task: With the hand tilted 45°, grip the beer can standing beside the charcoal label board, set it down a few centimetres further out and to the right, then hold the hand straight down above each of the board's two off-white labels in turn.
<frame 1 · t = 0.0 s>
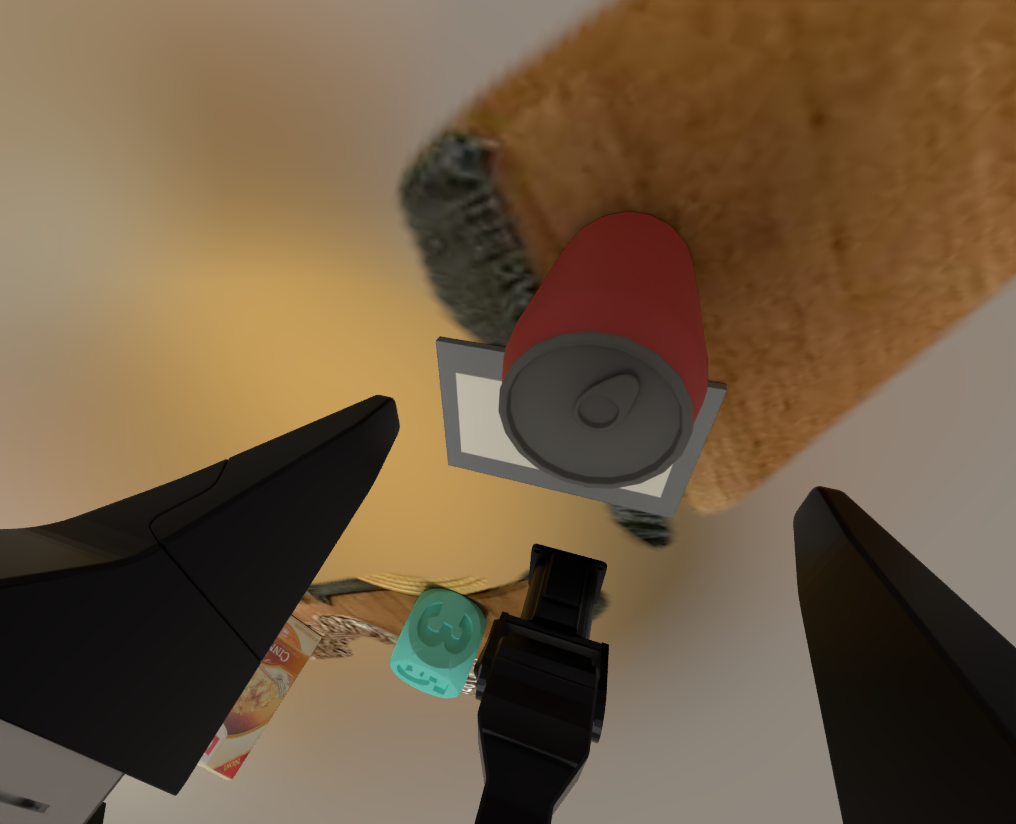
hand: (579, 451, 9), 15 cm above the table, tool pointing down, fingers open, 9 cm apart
beer can: (622, 278, 21), on the table
coffeecake box: (280, 612, 70), on the table
decorative dice: (454, 605, 49), on the table
label board: (562, 429, 28), on the table
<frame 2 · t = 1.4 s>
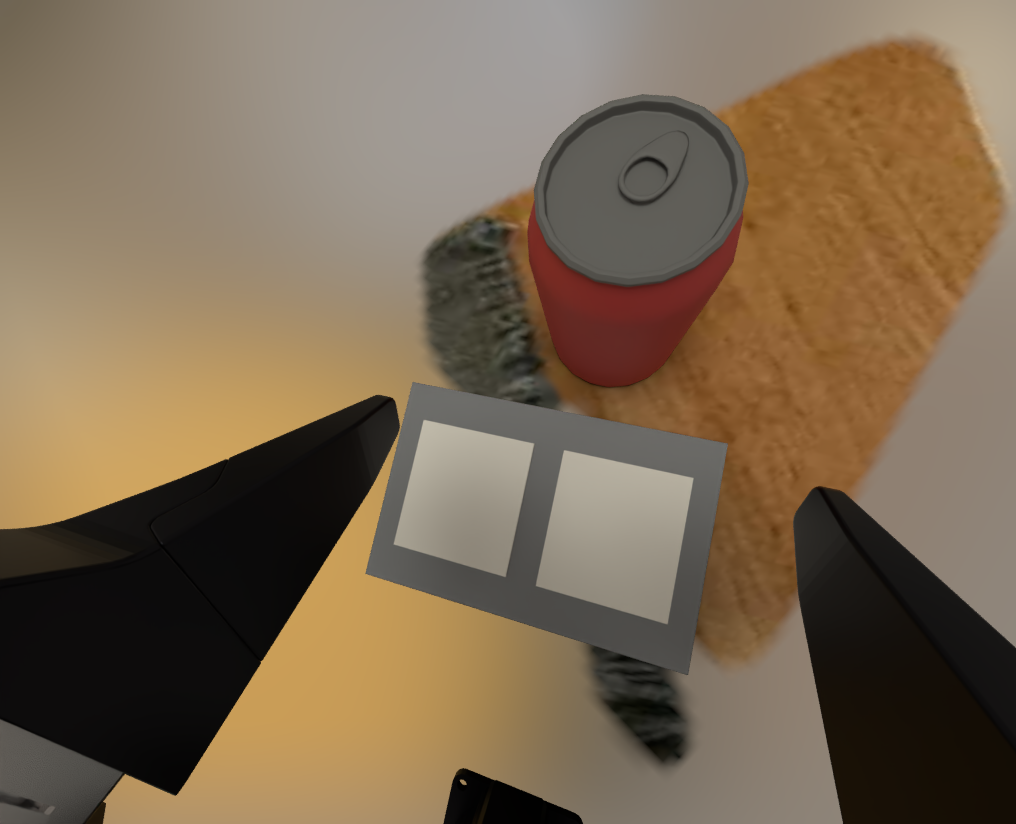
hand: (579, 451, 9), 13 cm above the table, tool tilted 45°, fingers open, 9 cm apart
beer can: (612, 331, 23), on the table
label board: (536, 511, 22), on the table
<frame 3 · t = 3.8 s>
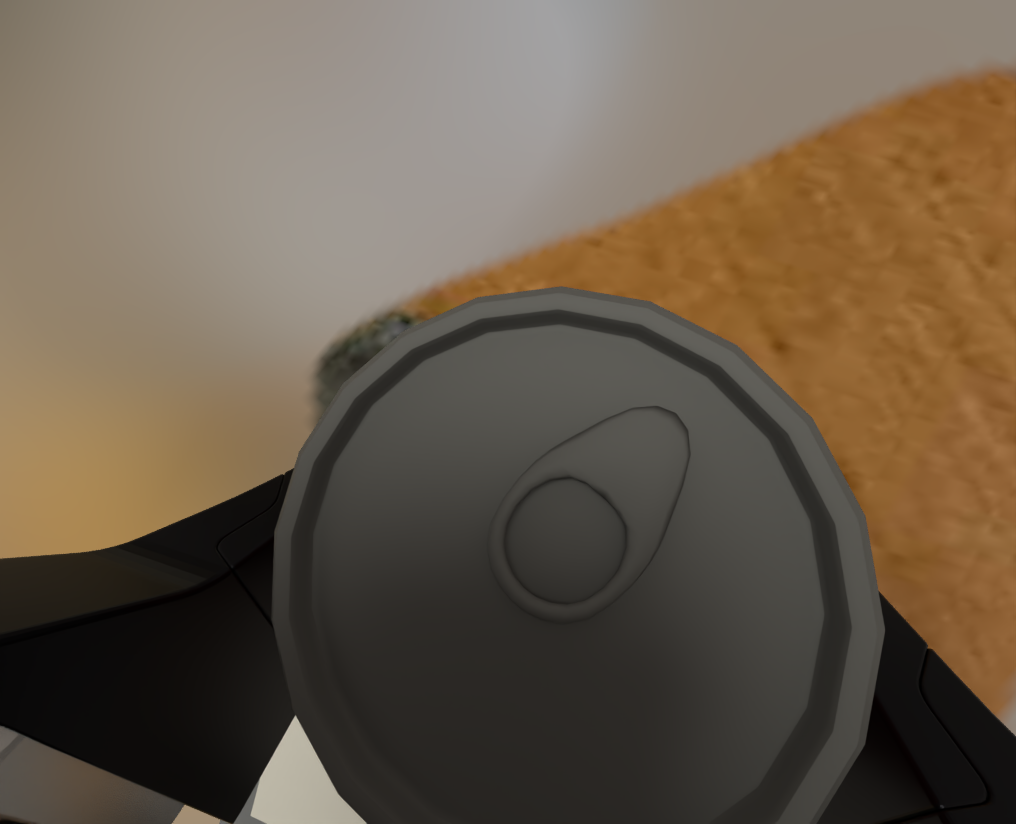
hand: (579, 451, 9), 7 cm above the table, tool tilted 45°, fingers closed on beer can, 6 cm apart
beer can: (576, 496, 16), on the table, touching gripper
label board: (461, 774, 15), on the table
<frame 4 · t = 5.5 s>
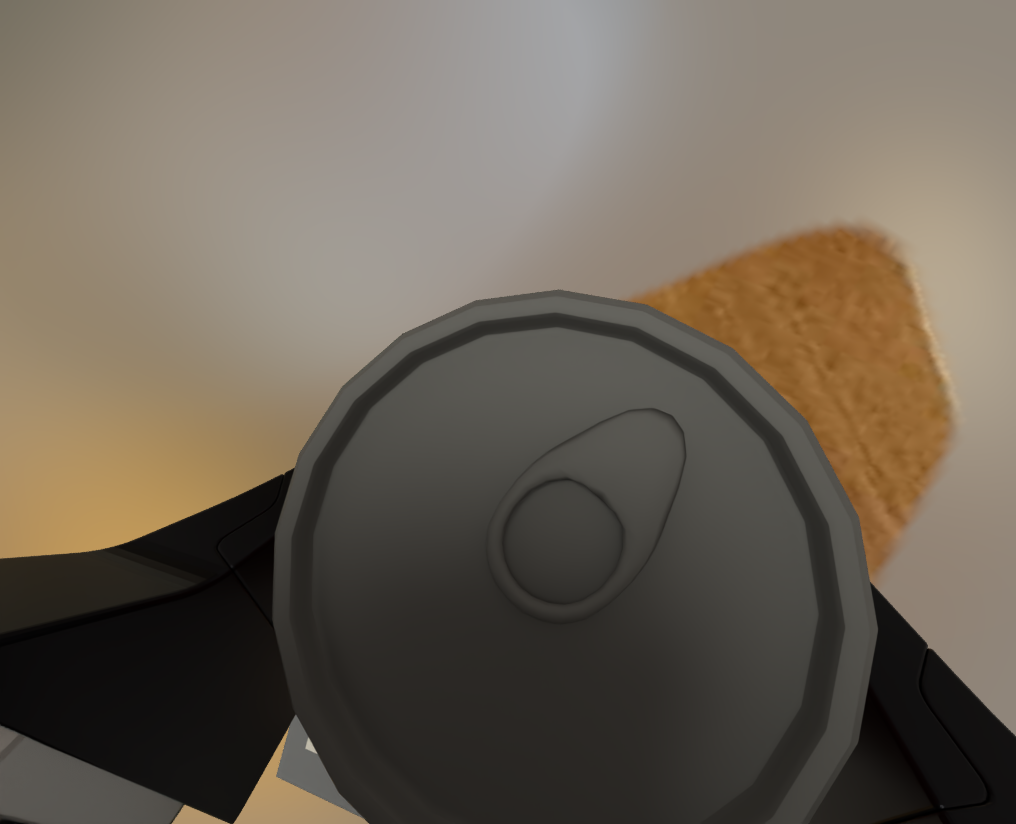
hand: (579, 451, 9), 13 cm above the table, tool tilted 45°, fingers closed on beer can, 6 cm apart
beer can: (575, 496, 16), point 6 cm above the table, touching gripper
label board: (456, 720, 21), on the table
when the fingers open (8 cm above the table, at t = 7.4 s): beer can drops 1 cm, on the table.
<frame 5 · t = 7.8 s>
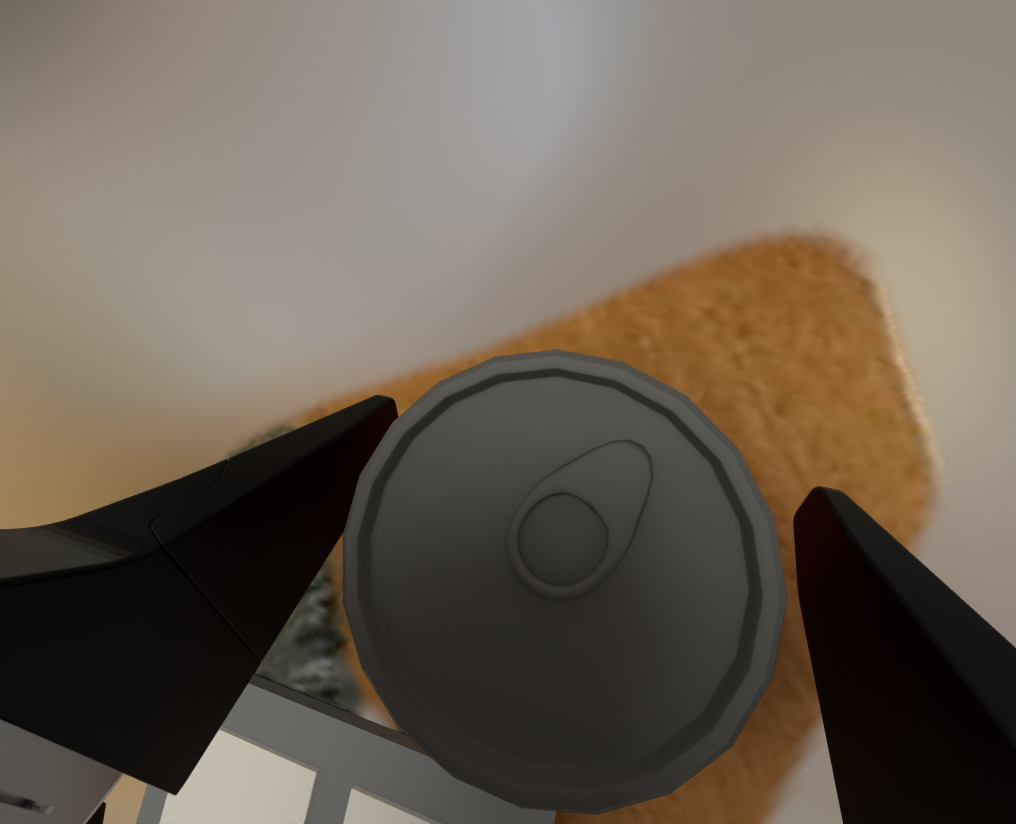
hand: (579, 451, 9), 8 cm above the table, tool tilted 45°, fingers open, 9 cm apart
beer can: (575, 498, 17), on the table
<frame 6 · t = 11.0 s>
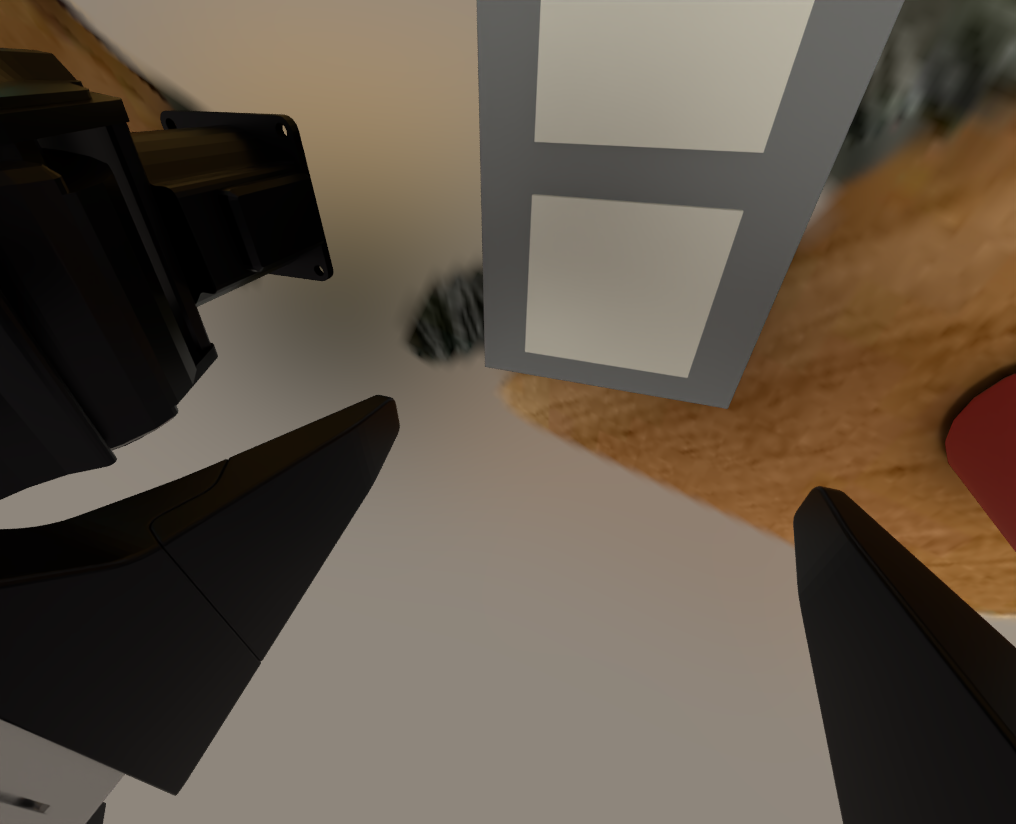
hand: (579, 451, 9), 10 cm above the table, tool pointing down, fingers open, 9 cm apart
label board: (638, 172, 14), on the table
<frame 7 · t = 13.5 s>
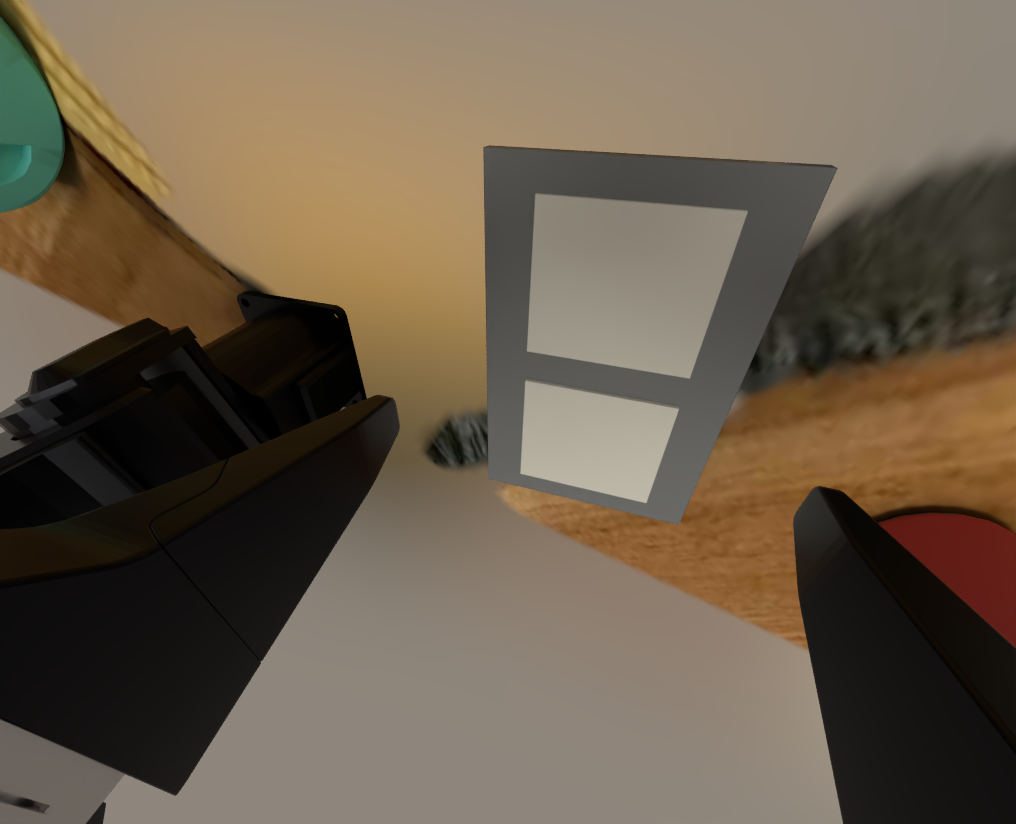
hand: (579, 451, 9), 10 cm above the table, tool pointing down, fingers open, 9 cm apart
beer can: (919, 547, 20), on the table
label board: (603, 370, 19), on the table
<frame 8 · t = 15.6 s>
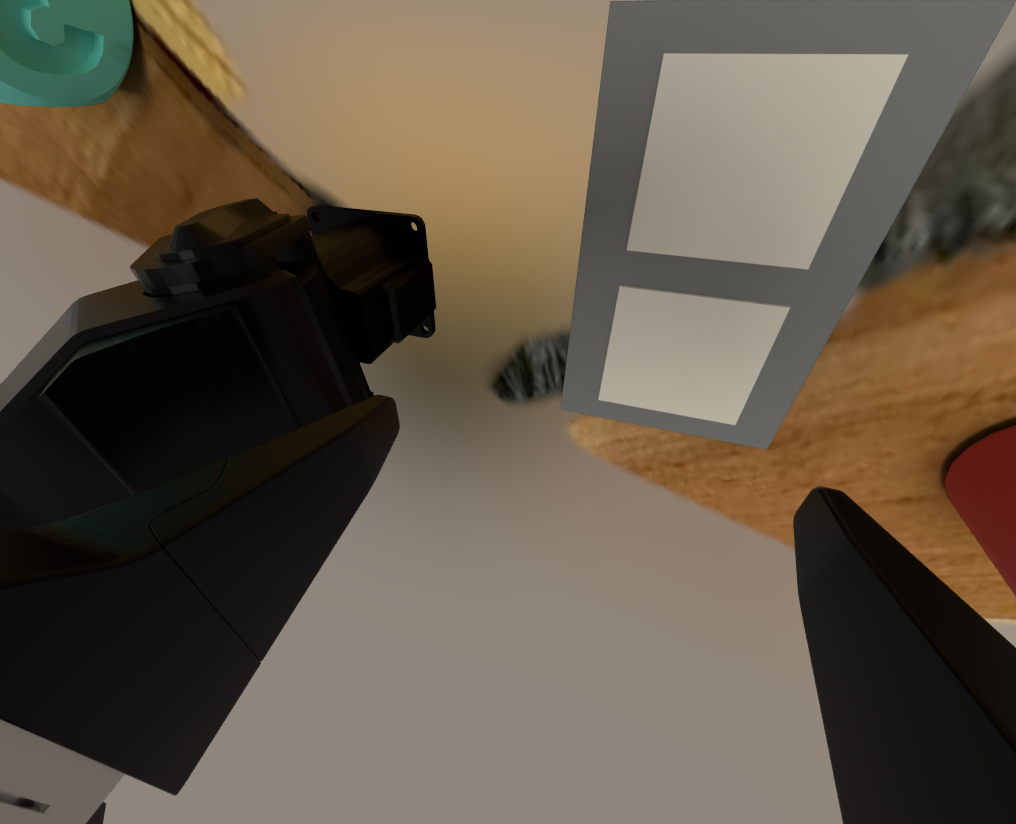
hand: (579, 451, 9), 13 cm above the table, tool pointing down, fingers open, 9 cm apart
label board: (705, 272, 18), on the table
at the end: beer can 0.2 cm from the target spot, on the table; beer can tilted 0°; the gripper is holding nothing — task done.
